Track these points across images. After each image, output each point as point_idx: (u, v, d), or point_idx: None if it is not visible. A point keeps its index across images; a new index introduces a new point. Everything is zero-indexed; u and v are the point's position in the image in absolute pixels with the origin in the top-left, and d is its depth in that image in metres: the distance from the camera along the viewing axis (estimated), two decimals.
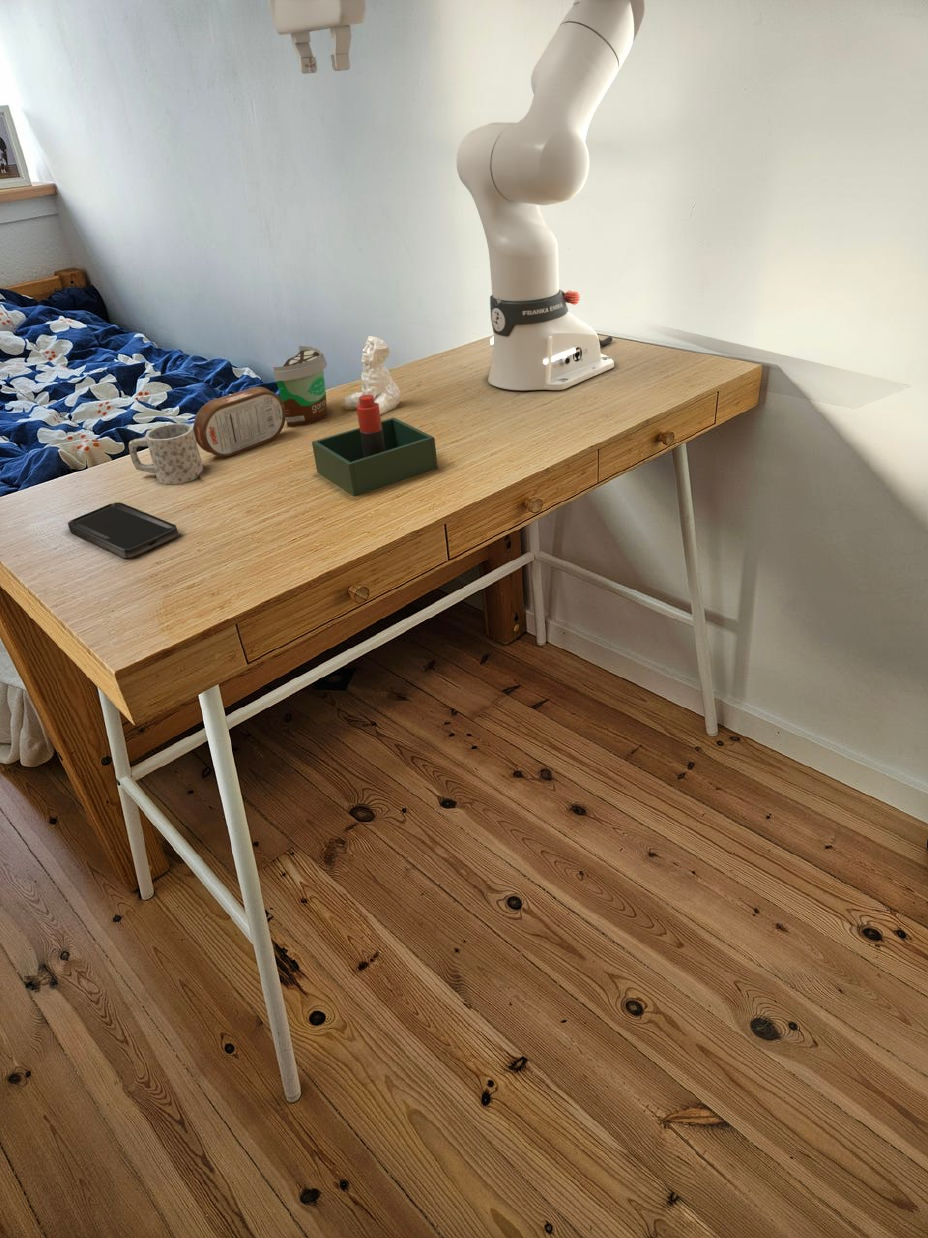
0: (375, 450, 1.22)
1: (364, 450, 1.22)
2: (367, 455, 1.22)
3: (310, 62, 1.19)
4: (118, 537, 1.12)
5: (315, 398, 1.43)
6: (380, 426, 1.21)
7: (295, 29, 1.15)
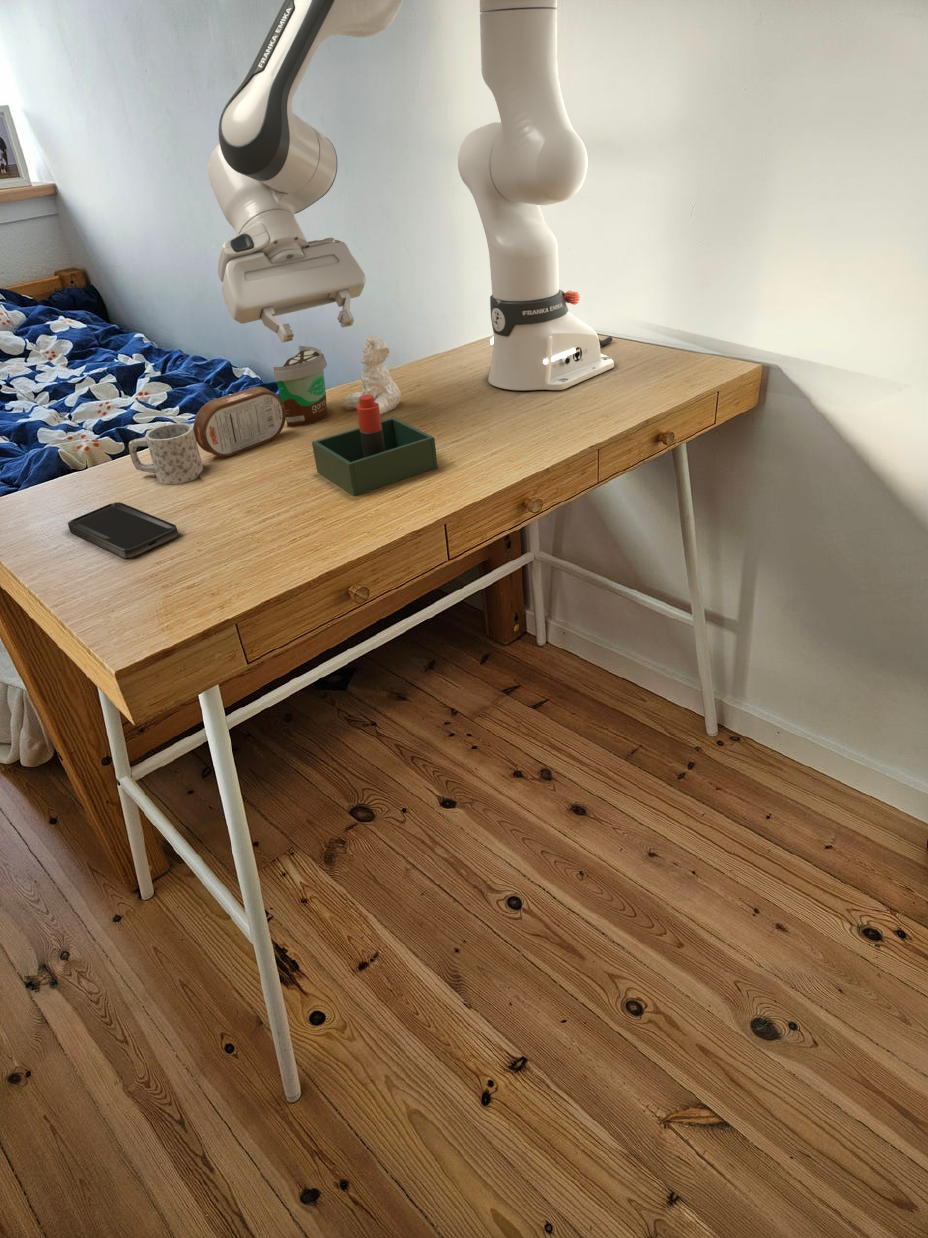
0: (375, 450, 1.22)
1: (364, 450, 1.22)
2: (367, 455, 1.22)
3: None
4: (118, 537, 1.12)
5: (315, 398, 1.43)
6: (380, 426, 1.21)
7: (283, 299, 1.22)
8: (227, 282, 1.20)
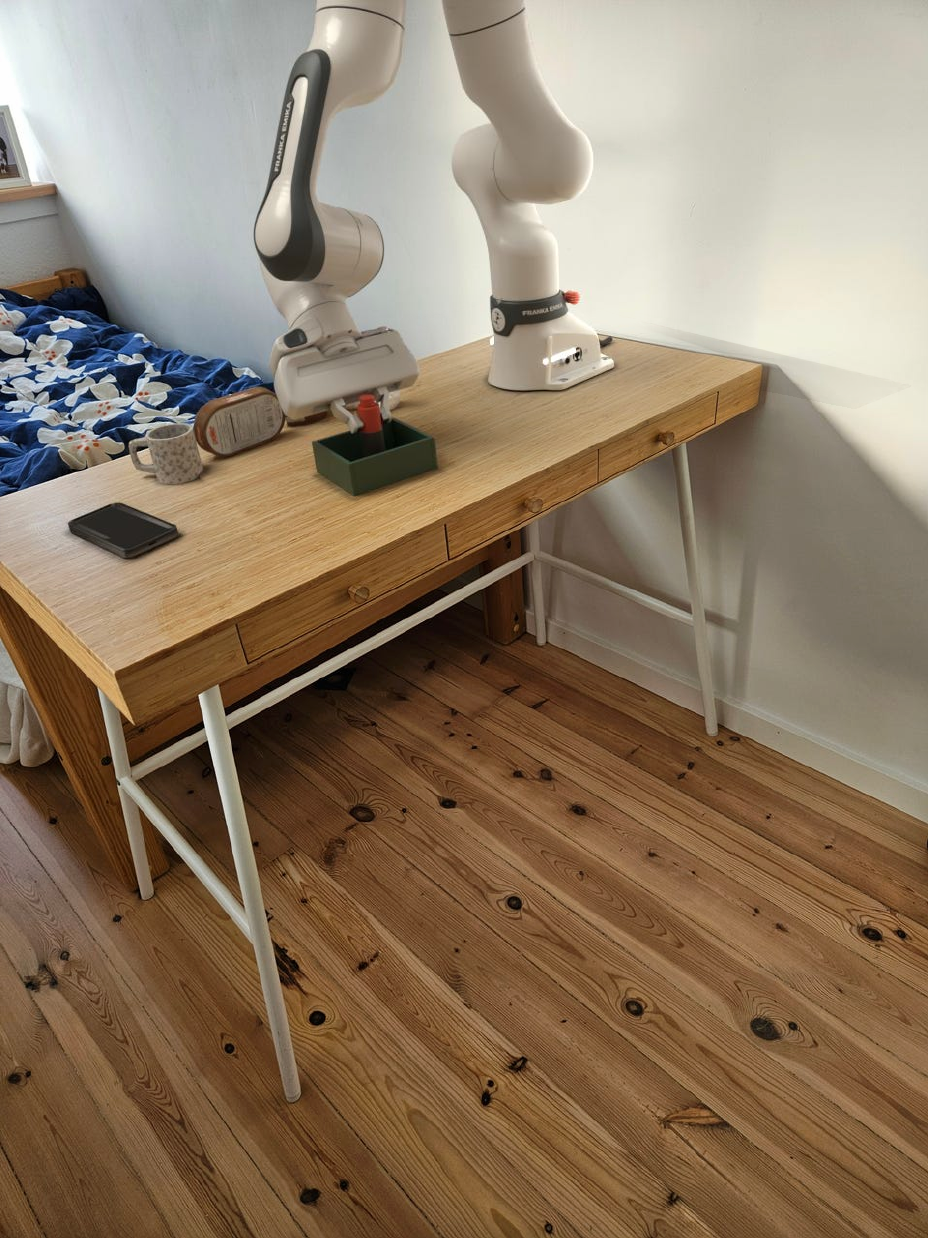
0: (375, 450, 1.22)
1: (364, 450, 1.22)
2: (367, 455, 1.22)
3: None
4: (118, 537, 1.12)
5: None
6: (380, 426, 1.21)
7: (337, 394, 1.19)
8: (280, 379, 1.16)
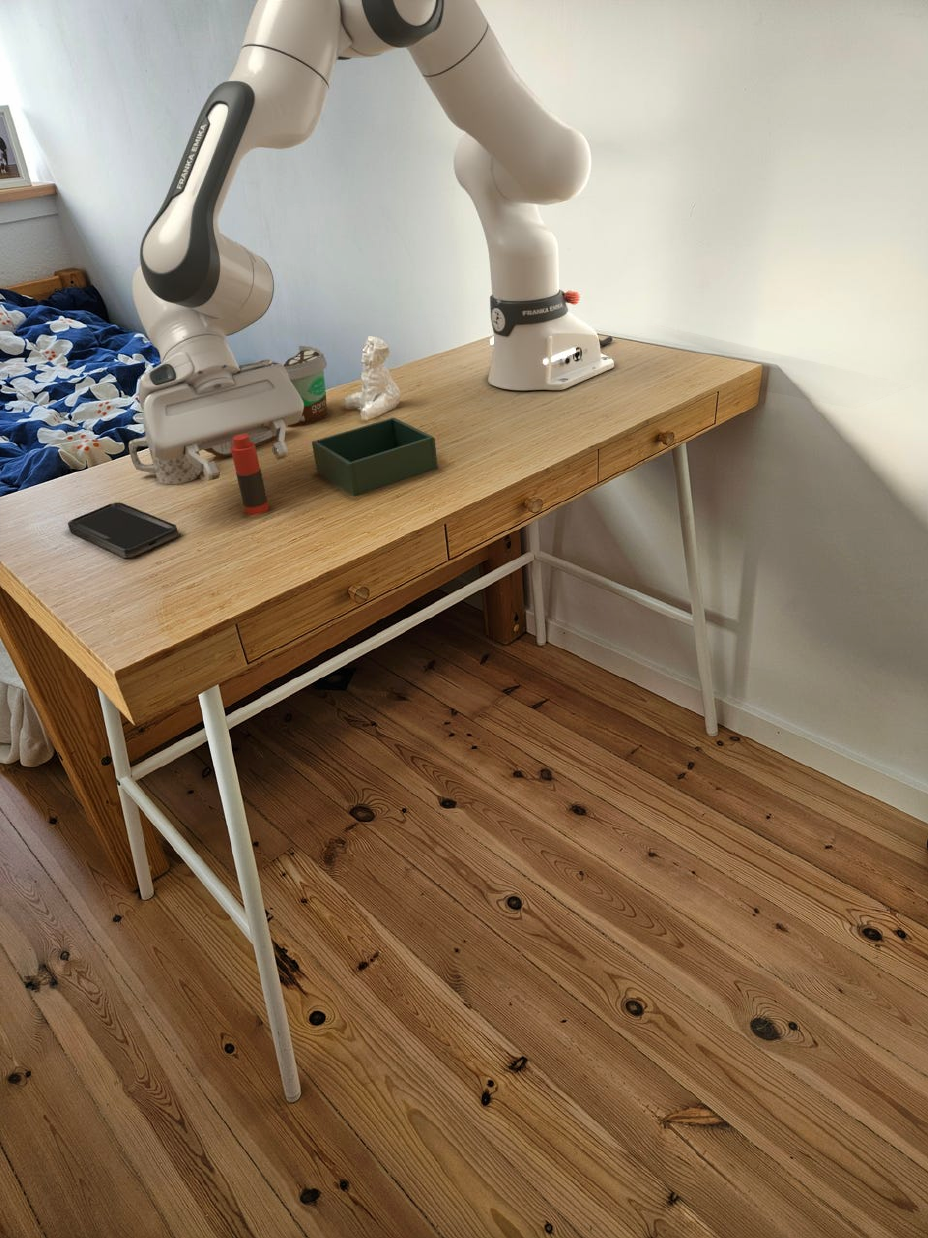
0: (252, 493, 1.14)
1: (241, 492, 1.15)
2: (245, 498, 1.15)
3: None
4: (118, 537, 1.12)
5: (315, 398, 1.43)
6: (257, 467, 1.14)
7: (209, 434, 1.11)
8: (145, 419, 1.09)
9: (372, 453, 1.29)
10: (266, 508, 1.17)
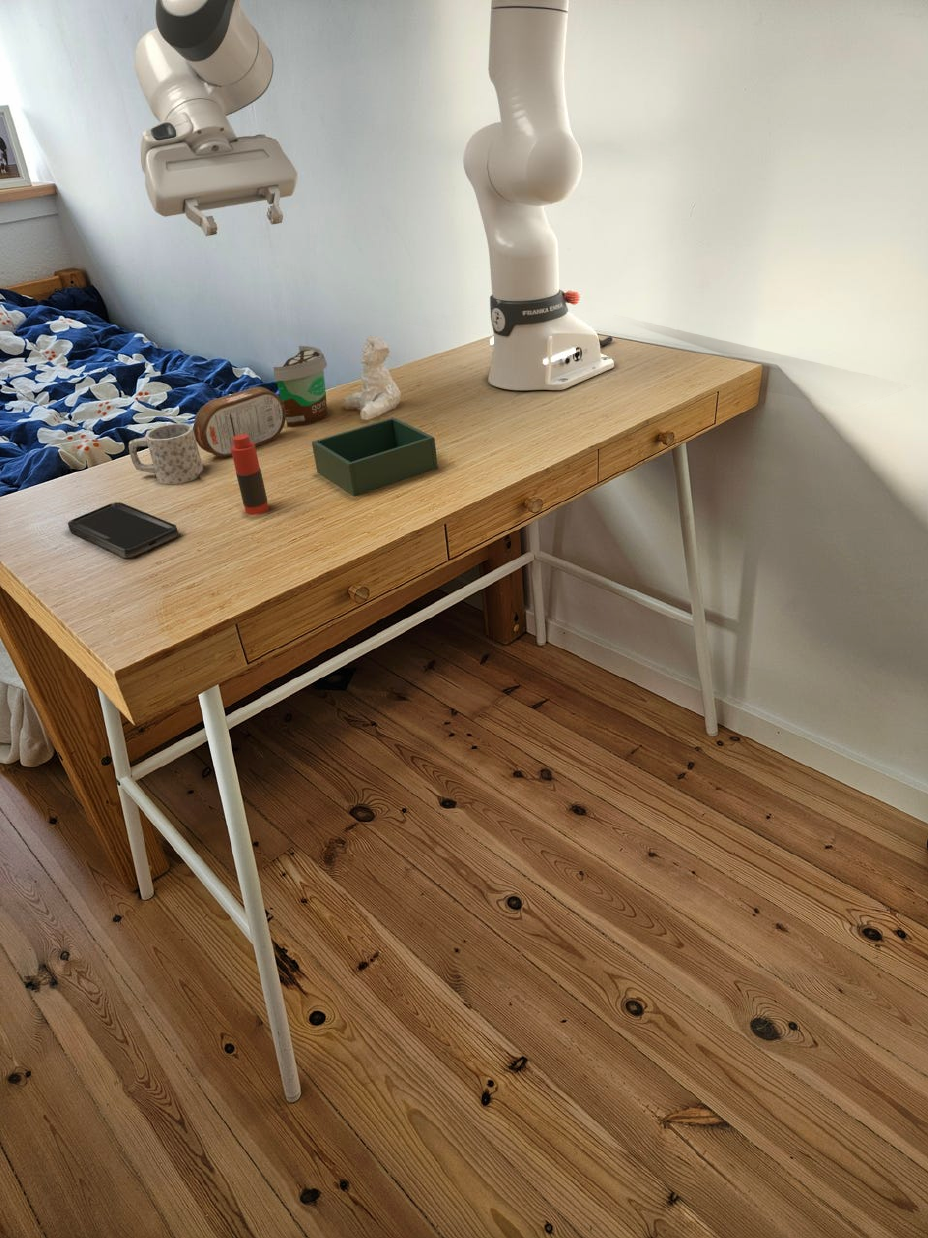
0: (252, 493, 1.14)
1: (241, 492, 1.15)
2: (245, 498, 1.15)
3: None
4: (118, 537, 1.12)
5: (315, 398, 1.43)
6: (257, 467, 1.14)
7: (207, 190, 1.18)
8: (147, 171, 1.15)
9: (372, 453, 1.29)
10: (266, 508, 1.17)
